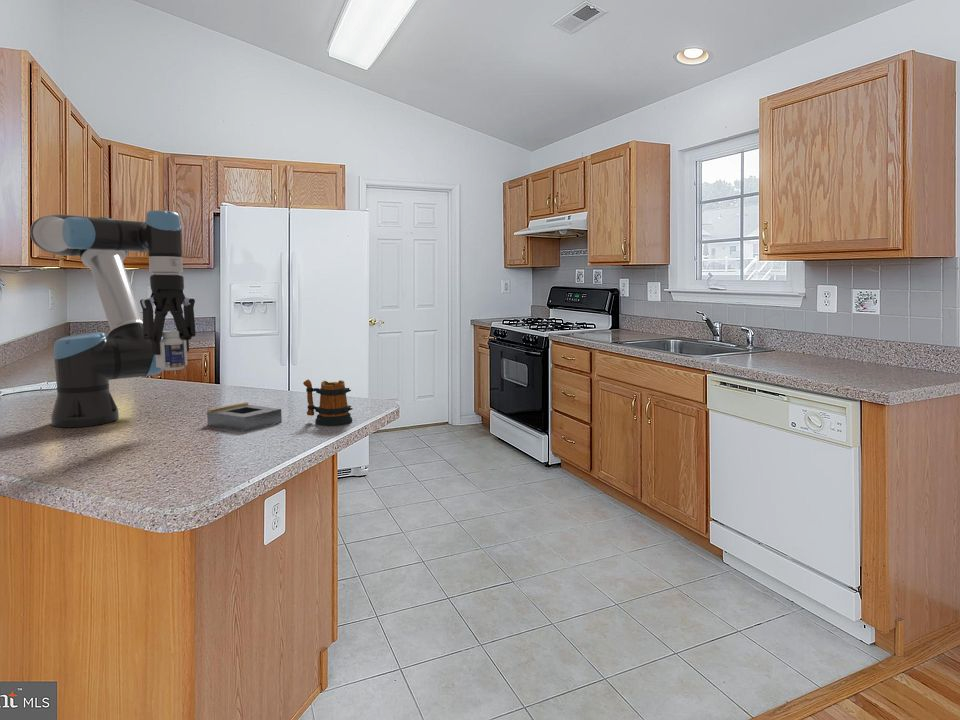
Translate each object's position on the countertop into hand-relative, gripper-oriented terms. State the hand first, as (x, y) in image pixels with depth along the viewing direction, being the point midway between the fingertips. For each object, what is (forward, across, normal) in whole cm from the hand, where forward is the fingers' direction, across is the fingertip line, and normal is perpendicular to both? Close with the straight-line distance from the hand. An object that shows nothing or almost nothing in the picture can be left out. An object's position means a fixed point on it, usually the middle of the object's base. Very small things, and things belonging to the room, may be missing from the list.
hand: (172, 366), depth 157 cm
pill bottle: (+1, 0, 0) cm, 1 cm away
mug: (+16, +23, -31) cm, 42 cm away
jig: (+16, +11, -13) cm, 23 cm away
